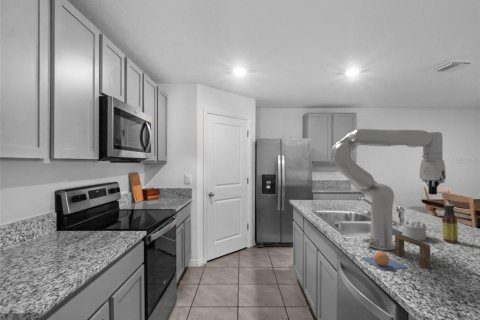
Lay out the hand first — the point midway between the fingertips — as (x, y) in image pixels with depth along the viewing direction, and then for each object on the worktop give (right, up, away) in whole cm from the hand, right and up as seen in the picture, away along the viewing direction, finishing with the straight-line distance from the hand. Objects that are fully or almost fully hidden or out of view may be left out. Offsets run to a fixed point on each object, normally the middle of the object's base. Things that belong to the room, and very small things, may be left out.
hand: (432, 194), depth 119 cm
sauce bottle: (+18, -27, +11) cm, 35 cm away
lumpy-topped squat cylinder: (+5, -28, +19) cm, 34 cm away
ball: (-36, -24, -19) cm, 48 cm away
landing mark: (-34, -27, -16) cm, 47 cm away
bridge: (-20, -27, -14) cm, 37 cm away
